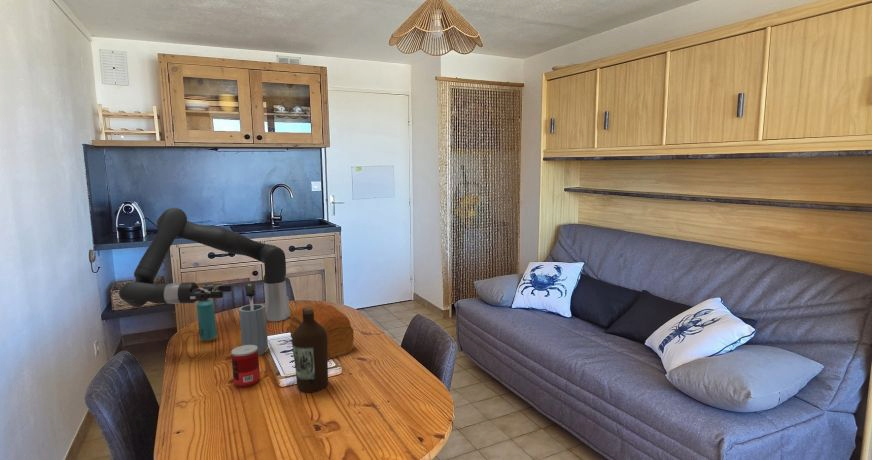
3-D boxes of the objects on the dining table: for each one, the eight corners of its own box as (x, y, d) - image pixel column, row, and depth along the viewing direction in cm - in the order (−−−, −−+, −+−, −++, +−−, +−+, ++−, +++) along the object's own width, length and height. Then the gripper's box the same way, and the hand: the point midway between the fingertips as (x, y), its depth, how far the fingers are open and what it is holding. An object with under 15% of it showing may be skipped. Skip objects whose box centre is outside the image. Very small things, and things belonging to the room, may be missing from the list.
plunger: (257, 342, 181) (252, 281, 178) (267, 345, 178) (261, 283, 174) (243, 347, 176) (237, 285, 173) (252, 351, 173) (247, 287, 169)
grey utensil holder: (261, 343, 185) (257, 301, 182) (276, 348, 179) (273, 305, 177) (236, 352, 177) (232, 308, 174) (251, 358, 171) (247, 313, 169)
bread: (318, 363, 166) (315, 319, 163) (287, 342, 186) (284, 303, 184) (358, 350, 176) (356, 309, 174) (325, 332, 196) (323, 295, 194)
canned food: (265, 377, 155) (262, 345, 154) (248, 389, 148) (245, 355, 146) (246, 375, 158) (243, 343, 156) (228, 385, 150) (225, 352, 149)
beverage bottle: (220, 337, 192) (216, 290, 189) (211, 344, 186) (206, 294, 183) (205, 337, 193) (201, 289, 190) (196, 343, 186) (190, 294, 183)
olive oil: (307, 376, 156) (302, 302, 152) (336, 380, 152) (331, 304, 149) (288, 391, 146) (282, 312, 142) (318, 395, 142) (313, 315, 139)
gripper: (170, 288, 165) (218, 286, 166) (189, 278, 179) (233, 276, 180) (173, 309, 166) (220, 307, 167) (191, 297, 180) (234, 295, 181)
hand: (227, 291), depth 173 cm, fingers open, 8 cm apart
